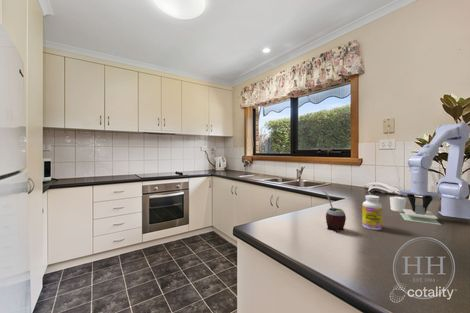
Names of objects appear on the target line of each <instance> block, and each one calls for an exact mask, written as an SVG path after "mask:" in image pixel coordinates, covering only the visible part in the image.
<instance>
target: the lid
mask: <svg viewBox="0 0 470 313" xmlns="http://www.w3.org/2000/svg"><path fill="white" fill-rule="evenodd" d="M403 211H404V212H403V213H404V214H406V215H407V216H415V217H423V218H432V219H435V220H438V217H437V216H436V215H434V213H433V212H431V211H427V210H426V213H425V208H424V207H423V205H419V204H418V205H417V204H415V212H413V211H412V209H409V208H405V209H403Z"/></svg>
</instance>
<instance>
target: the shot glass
mask: <svg viewBox="0 0 470 313" xmlns="http://www.w3.org/2000/svg"><path fill="white" fill-rule="evenodd" d="M389 204H390V206H389V207H390V210H391V211H394V212H399V213H405V212H404V211H403V209H406V205H407V198H406V197H402V196H389Z"/></svg>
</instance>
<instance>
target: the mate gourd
mask: <svg viewBox="0 0 470 313" xmlns="http://www.w3.org/2000/svg"><path fill="white" fill-rule="evenodd" d="M322 192H323V193H324V194H325V195H326V197H327V199H328V201H329V202H328V203H329V204H330V208H328V209H327V211H326V212H325V223H326V226H327V227H326V229H327V230H328V231H334V232H336V233H340V231H345V225H346V220H347V216H346V213H345V211H344V210H343V209H342V208H337V207H334V206H333V204H332V201H331V197H330V195H329V194H328V193H327V192H325V190H322Z"/></svg>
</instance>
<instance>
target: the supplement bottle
mask: <svg viewBox="0 0 470 313" xmlns="http://www.w3.org/2000/svg"><path fill="white" fill-rule="evenodd" d="M379 201H380V196H378V195H371V194H367V195H365V201H363V202H362V213H361V214H362V216H361V218H362V220H361V222H362V227H363V228H364V229H368V230H372V231H381V229H382V226H383V224H382V222H383V218H382V217H383V204H382V203H381V202H379Z"/></svg>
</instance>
